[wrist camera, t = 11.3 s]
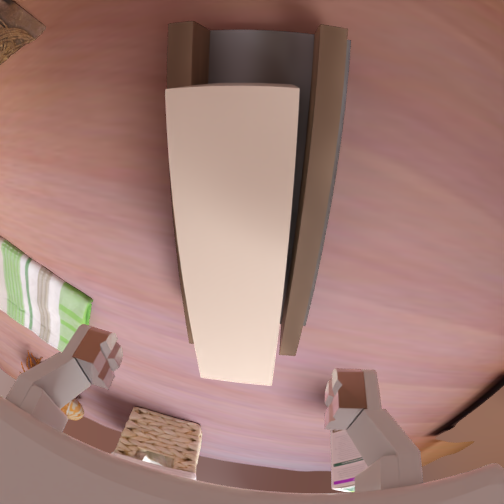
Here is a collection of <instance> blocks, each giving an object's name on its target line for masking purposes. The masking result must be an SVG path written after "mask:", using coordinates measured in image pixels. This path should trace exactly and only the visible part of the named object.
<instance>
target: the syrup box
mask: <svg viewBox="0 0 504 504" xmlns="http://www.w3.org/2000/svg"><path fill="white" fill-rule="evenodd" d="M330 441H331V488H332V489H335V490H339V491H344V492H355V476H356V475H357V474H358V473H360V472H361V471H363V470H364V469H366V468H367V467H368V466H367V464H366V463H365V461H364V460H363V458H362V456H361V455H360V453H359V451H358V450H357V448H356V446H355V445H354V443H353V442H352V440H351V438H350V437H349V435H348V433H347V432H346V430H333V429H330Z"/></svg>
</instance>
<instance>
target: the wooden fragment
mask: <svg viewBox="0 0 504 504" xmlns="http://www.w3.org/2000/svg"><path fill="white" fill-rule="evenodd" d="M45 29H46V27H45V26H44V25H43V24H42V23H40V22H39V21H38V20H36V19H35V18H34V17H33V16H31V15H30V14H29V13H27V12H26V11H25V10H23V9H22V8H21V7H20V6H18V5H17V4H16V3H14V2H13V1H11V0H0V65H1V63H3V62H4V61H6V60H7V59H8V58H9V57H10V55H12V54H14V53H15V52H16V51H17V50H18V49H20V48H21V47H22V46H24V45H25V44H26V43H30V42H32V41H34V40H35V39H36V38H37V37H38V36H40V35H41V34H42V33H43V31H44V30H45Z"/></svg>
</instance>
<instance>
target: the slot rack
mask: <svg viewBox="0 0 504 504" xmlns="http://www.w3.org/2000/svg"><path fill="white" fill-rule="evenodd" d="M347 35H348V29H346V28H341V27H335V26H329V25H322V24H321V25H320V26H319V28H318V29H317V31H316V33H315V34H306V33H296V32H285V31H269V30H209V29H207V28H205V27H203V26H202V25H200V24H198V23H196V22H194V21H188V22H178V23H170V24H168V46H167V89H170V88H177V87H184V86H193V85H202V84H213V83H274V84H291V85H295V86H297V87H298V88H300V92H299V111H298V128H297V144H296V159H295V172H294V185H293V198H292V210H291V221H290V232H289V242H288V253H287V263H286V272H285V282H284V291H283V300H282V308H281V317H280V324H281V335H280V351H279V355H289V356H295V355H296V351H297V348H298V344H299V340H300V335H301V331H302V327H303V326H305V325H306V321H307V317H308V313H309V309H310V305H311V300H312V296H313V292H314V287H315V283H316V278H317V274H318V269H319V264H320V260H321V255H322V250H323V245H324V240H325V235H326V229H327V224H328V219H329V213H330V207H331V202H332V196H333V190H334V184H335V177H336V171H337V164H338V158H339V151H340V143H341V136H342V128H343V120H344V112H345V103H346V93H347V83H348V72H349V60H350V47H351V40H347ZM169 170H170V167H169ZM170 185H171V179H170ZM171 199H172V189H171ZM172 211H173V222H174V233H175V242H176V252H177V260H178V269H179V277H180V285H181V292H182V299H183V306H184V313H185V319H186V326H187V332H188V338H189V343H191V344H194V341H193V336H192V331H191V325H190V320H189V314H188V308H187V302H186V296H185V290H184V284H183V277H182V271H181V264H180V257H179V250H178V242H177V234H176V226H175V218H174V209H173V199H172Z"/></svg>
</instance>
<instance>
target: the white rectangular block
mask: <svg viewBox="0 0 504 504" xmlns="http://www.w3.org/2000/svg"><path fill="white" fill-rule="evenodd" d="M299 92H300V88H298V87H297V86H295V85H291V84H274V83H213V84H202V85H193V86H184V87H177V88H170V89H165V103H166V124H167V141H168V155H169V167H170V179H171V189H172V199H173V209H174V218H175V226H176V234H177V242H178V250H179V257H180V264H181V271H182V277H183V284H184V290H185V296H186V302H187V308H188V314H189V320H190V325H191V331H192V336H193V341H194V347H195V352H196V357H197V361H198V366H199V371H200V376H201V378H207V379H214V380H222V381H230V382H238V383H247V384H257V385H269V386H272V379H273V372H274V365H275V357H276V349H277V341H278V333H279V325H280V317H281V308H282V300H283V291H284V282H285V272H286V263H287V253H288V242H289V232H290V221H291V210H292V198H293V185H294V172H295V159H296V144H297V128H298V111H299Z"/></svg>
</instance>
